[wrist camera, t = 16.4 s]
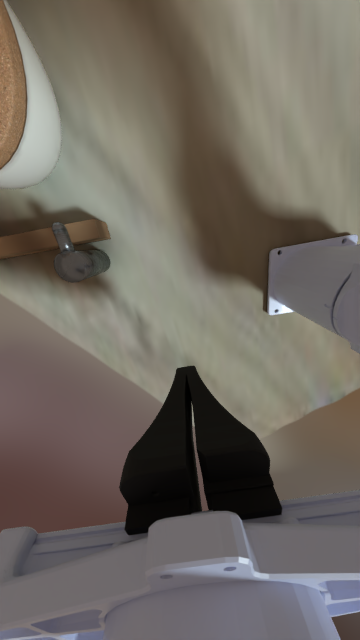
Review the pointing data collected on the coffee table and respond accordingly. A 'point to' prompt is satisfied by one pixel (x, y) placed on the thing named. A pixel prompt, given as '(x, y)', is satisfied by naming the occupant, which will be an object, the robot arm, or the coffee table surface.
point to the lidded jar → (25, 109)
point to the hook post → (76, 258)
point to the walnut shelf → (52, 238)
